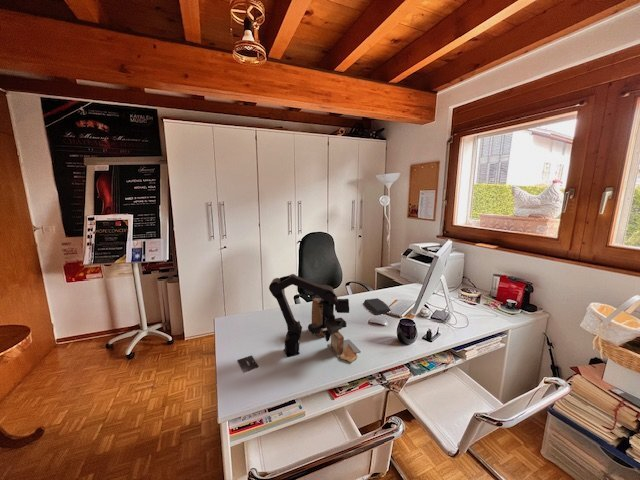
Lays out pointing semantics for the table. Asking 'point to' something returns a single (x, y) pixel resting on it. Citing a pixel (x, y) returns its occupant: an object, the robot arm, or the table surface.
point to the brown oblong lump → (317, 314)
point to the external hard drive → (376, 306)
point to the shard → (348, 354)
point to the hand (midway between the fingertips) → (327, 341)
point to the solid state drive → (248, 363)
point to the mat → (345, 347)
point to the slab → (337, 342)
